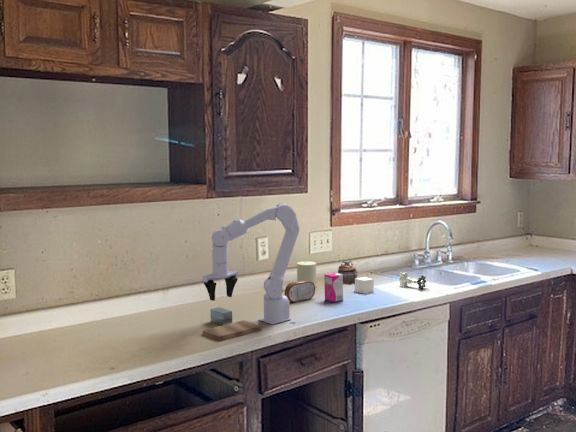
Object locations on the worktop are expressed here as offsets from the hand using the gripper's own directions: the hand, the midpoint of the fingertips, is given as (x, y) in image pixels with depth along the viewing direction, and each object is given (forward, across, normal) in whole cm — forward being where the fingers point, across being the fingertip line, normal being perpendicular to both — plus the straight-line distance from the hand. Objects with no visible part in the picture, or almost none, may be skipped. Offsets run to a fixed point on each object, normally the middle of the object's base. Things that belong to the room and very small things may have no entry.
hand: (220, 298), depth 216 cm
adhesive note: (+10, -76, +4) cm, 77 cm away
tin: (+10, -44, -4) cm, 45 cm away
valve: (+10, -98, +14) cm, 99 cm away
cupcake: (+9, -86, -15) cm, 88 cm away
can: (+9, -63, -20) cm, 67 cm away
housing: (+9, 0, 0) cm, 9 cm away
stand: (+9, +4, +12) cm, 16 cm away
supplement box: (+9, -54, +6) cm, 55 cm away
